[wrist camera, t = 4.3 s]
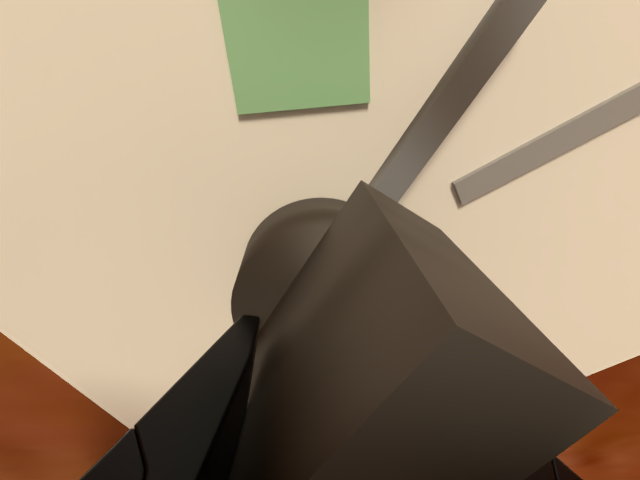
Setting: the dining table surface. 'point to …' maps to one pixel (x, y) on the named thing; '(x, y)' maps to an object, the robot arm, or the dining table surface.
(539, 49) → the dial plate
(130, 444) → the robot arm
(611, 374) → the dining table surface
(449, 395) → the dark grey angled piece
